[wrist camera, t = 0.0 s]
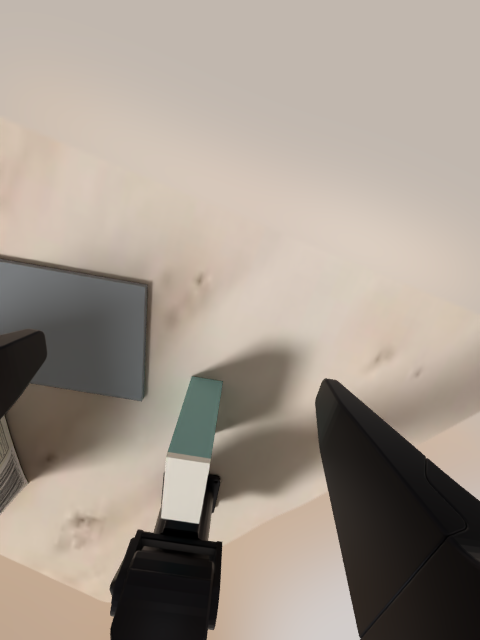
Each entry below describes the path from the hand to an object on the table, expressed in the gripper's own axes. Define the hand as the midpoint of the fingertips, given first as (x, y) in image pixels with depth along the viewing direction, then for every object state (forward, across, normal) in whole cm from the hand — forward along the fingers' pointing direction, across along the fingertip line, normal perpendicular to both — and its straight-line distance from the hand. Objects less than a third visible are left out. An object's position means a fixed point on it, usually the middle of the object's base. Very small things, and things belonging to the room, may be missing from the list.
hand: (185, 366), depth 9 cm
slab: (+15, 0, +15) cm, 21 cm away
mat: (+15, +13, +9) cm, 22 cm away
